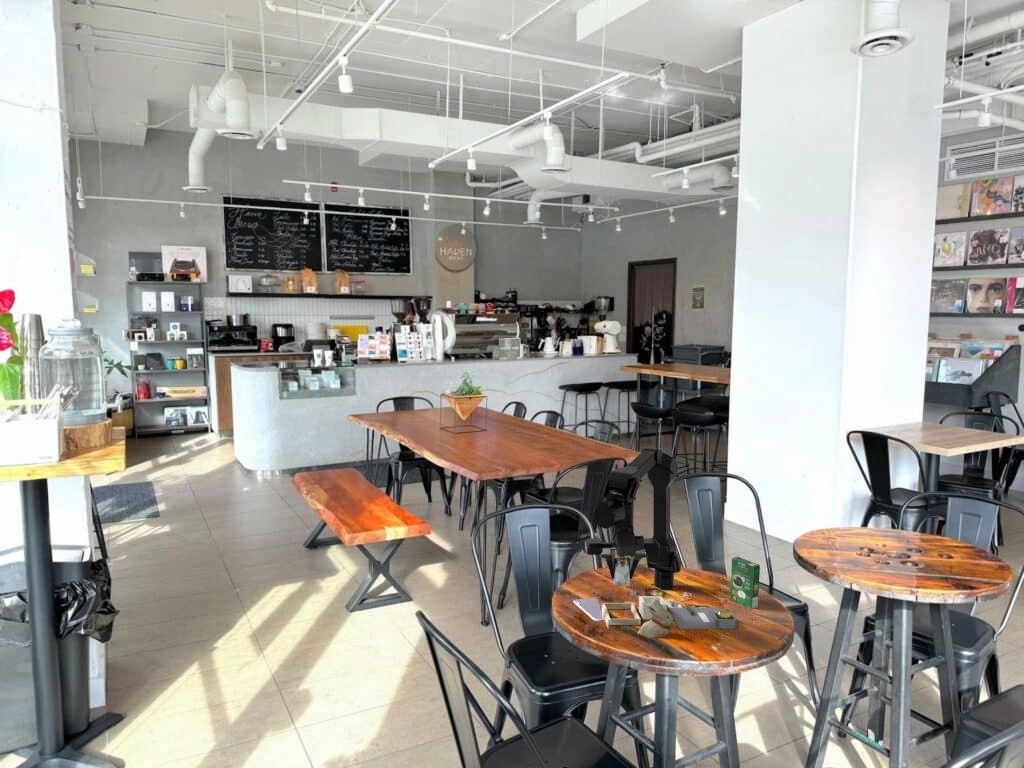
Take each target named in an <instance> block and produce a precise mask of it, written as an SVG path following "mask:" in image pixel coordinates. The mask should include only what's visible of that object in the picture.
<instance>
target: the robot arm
mask: <svg viewBox="0 0 1024 768" xmlns="http://www.w3.org/2000/svg"><path fill="white" fill-rule="evenodd" d="M678 470H679V464H678V462H677V460H676V459H675V458H674V457H673V456H671V455H670V454H667V453H665V452H663V450H662V449H660V448H656V447H655V448H654V447H644V448H642V449H641V452H640V453H639V454H638V455H637V456H636V457H635V458H634V459H633V460H632V461H630V463H629V464H627V465H626V466H623V467H617V468H615V469H614V470H611V472H610V473H609V474H608V476H607V478H606V481H605V484H604V488H603V490H602V493H601V496H600V499H602V500H601V504H600V506H598V507H597V508H596V509H595V511H594V512H593V513H594V514H593V518H594V522H595V523H596V524H597V526H598V527H599V528H601V529H604V530H605V529H609V528H610V542H602V540H601V538H600V537H599V538H587V539H585V540H584V549H585V552H586V555H589V556H600V558H601V559H604V560H605V562H606V565H607V568H608V572H609V575H610V578H611V580H613V578H614V572H613V555H612V553H611V552H612V551H616V555H618V556H620V557H623V556H628V557H630V580H632V579H633V577H634V574H635V571H636V569H637V567H638V564H639V562H640V561H641V560H642V559H643V558H644V559H646V566H647V569H653V583H650V586H653V587H655V588H656V589H659V590H661V591H672V589H673V588H674V586H675V574H676V573H680V572H681V569H682V560H681V559H680V557H679V555H678V553H677V544H676V543H675V541H674V539H673V538H672V536H671V487H672V485H673V483H674V482H675V480H676V478H677V473H678ZM646 475H647V479H648V481H649V482H650V484H651V486H652V487H653V488H652V489H653V490H652V491H653V493H652V495H653V498H652V499H653V500H652V501H653V504H652V505H653V506H652V508H653V512H652V513H653V514H652V515H653V517H652V519H653V520H652V521H653V523H652V524H653V525H652V526H653V528H652V529H653V531H652V532H653V535H652V537H651V538H647V537H645V538H644V535H635V532H634V531H635V530H634V529H635V528H634V527H635V526H634V518H635V517H634V515H635V513H634V510H635V509H634V507H635V505H634V501H636V500H637V497H636V495H637V492H638V491H639V488H640V486H641V484H640V481H641V480H642V478H643V477H644V476H646Z"/></svg>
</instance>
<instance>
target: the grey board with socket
mask: <svg viewBox="0 0 1024 768" xmlns="http://www.w3.org/2000/svg"><path fill="white" fill-rule="evenodd" d="M666 605H667V611H668V612H669V613H671V615H672V617H673V621H675V624H676V625H677V626H678V628H679V629H680V630H706V629H707V630H715V629H717V630H732V629H733V630H736V629H739V622H740V621H739V619H738V618H737V617H736V616H735V614H734V613H733V612H732V611H731V619H718V609H721V608H720V607H715V606H713V607H709V606H708V607H704V606H703V607H701V606H700V607H699V606H698V607H697V606H695V607H691V606H690V604H686V606H685V607H680V606H679V607H675V606H674V607H669V606H668V604H667V603H666Z"/></svg>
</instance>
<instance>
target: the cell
mask: <svg viewBox="0 0 1024 768" xmlns="http://www.w3.org/2000/svg"><path fill="white" fill-rule="evenodd" d="M612 563H613V572H614V578H613V579H612V585H614V586H616V587H621V588H624V587H626V588H627V587H629V586H630V585H631V579H630V556H623V557H620V556H618V555H617V554H616V555H614V557H612Z"/></svg>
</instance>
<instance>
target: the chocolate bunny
mask: <svg viewBox="0 0 1024 768" xmlns="http://www.w3.org/2000/svg"><path fill="white" fill-rule="evenodd" d="M647 608H648V609H649V610H650V612H651V614H652V618H651V619H649V620H648V621H646V622H644V623H643V624H642V625H640V626H641V627H639V630H638V632H637V634H638V635H640V636H642V637H647V638H652V639H654V638H656V639H657V638H667V637H668V636H669V634H670V632H672V629H671V628H670V627H671V626H672V624H673V622H674V618H673V617H672V615H671V613H669V612H668V611H666V610H665V609H664V608H663V607H662V605H661V604H660V603H659V602H658V600H656V599H654V600H653V602H652V603H650V604H648V605H647Z"/></svg>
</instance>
